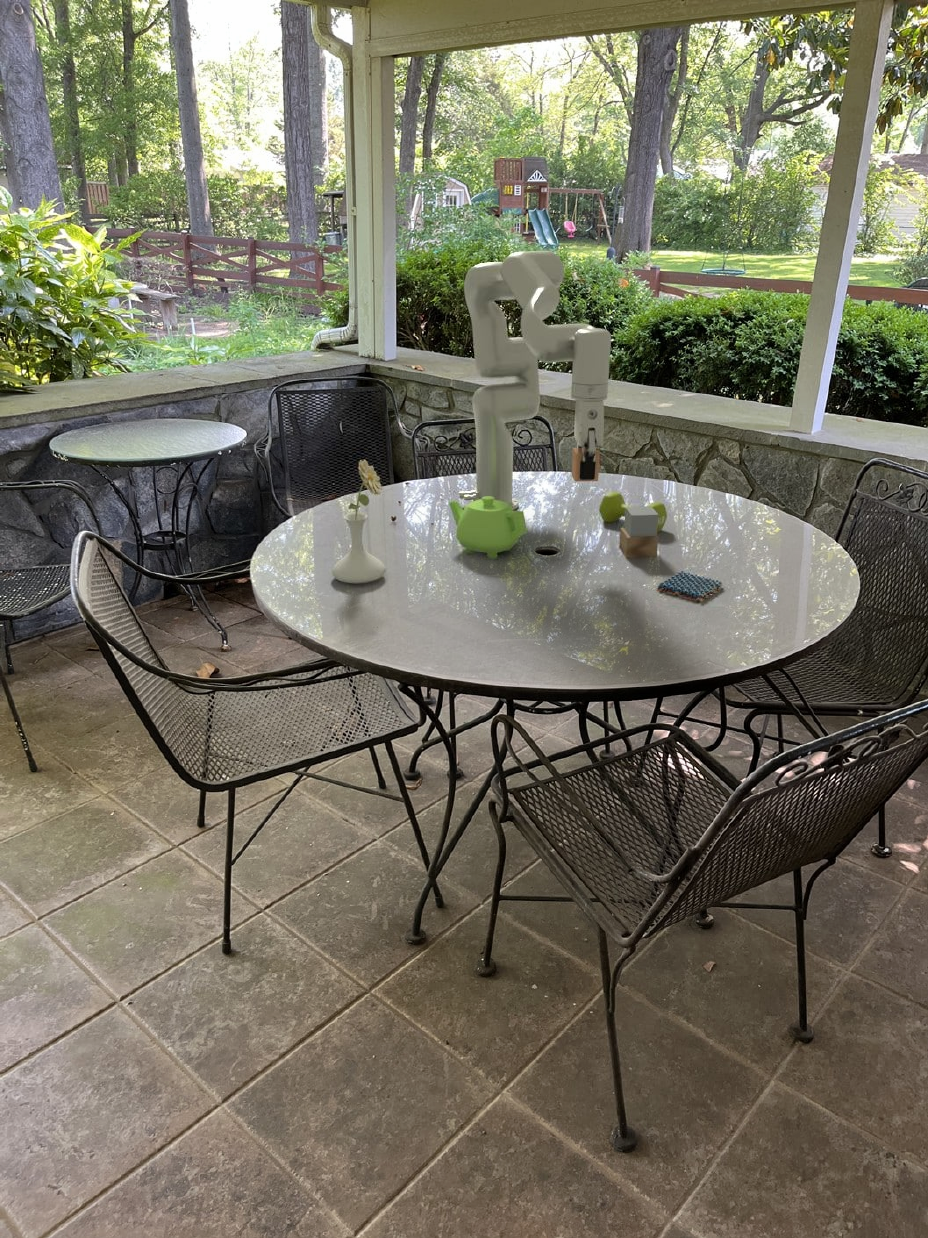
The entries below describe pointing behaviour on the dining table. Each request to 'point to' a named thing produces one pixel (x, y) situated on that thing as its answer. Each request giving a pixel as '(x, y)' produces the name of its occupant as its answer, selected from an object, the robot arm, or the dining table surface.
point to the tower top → (641, 521)
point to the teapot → (488, 525)
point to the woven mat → (690, 586)
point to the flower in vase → (360, 537)
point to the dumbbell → (615, 508)
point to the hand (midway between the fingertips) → (584, 474)
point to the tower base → (638, 545)
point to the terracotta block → (576, 464)
